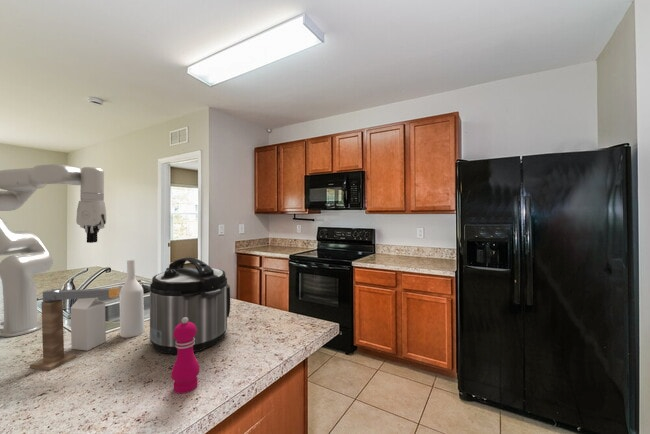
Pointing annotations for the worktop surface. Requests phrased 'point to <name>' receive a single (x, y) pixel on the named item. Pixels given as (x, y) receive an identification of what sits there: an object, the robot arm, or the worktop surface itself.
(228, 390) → the worktop surface
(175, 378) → the pepper mill
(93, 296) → the arm
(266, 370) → the worktop surface
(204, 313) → the pressure cooker
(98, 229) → the robot arm
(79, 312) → the milk carton
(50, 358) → the gate post
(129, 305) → the bottle
